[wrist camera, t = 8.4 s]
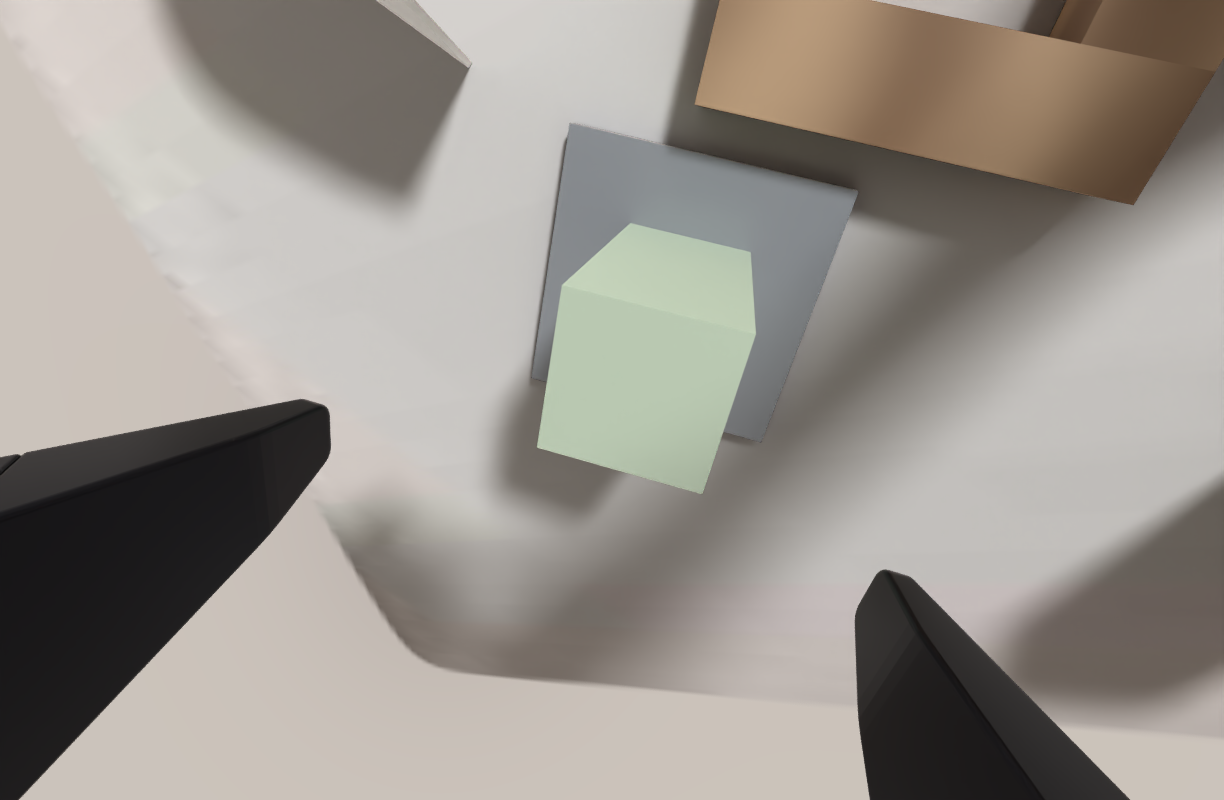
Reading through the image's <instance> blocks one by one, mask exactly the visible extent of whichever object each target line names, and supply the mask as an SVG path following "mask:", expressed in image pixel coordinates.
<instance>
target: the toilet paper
mask: <svg viewBox="0 0 1224 800" xmlns="http://www.w3.org/2000/svg"><path fill="white" fill-rule="evenodd" d="M376 1H377V2H379V3H380V4H381V5H383V6H384V7H386V8H387V9H388V10H390V11H391V12H392V13H394V14H395V15H397V16H398V17H399V18H401V19H402V20H403V21H405V22H406V23H408V24H409V25H410V26H412V27H413V28H414V29H416V30H417V31H418V32H420V33H421V34H423V35H424V36H425V37H427V38H428V39H429V40H431V41H432V42H434V43H435V44H436V45H438V46H439V47H440V48H442V49H443V50H445V51H446V52H447V53H449V54H450V55H451V56H453V57H454V58H455V59H457V60H458V61H460V62H461V63H462V64H464V65H465V66H466V67H468V68H469V67H470V65H471V64H472V62H471V61H470V60H469V59H468V57H467V56H466V55H465V54H464V53H463V52H462V51H461V50H460V49H459V48H458V47H457V46H456V44H455V43H454V42H453V41H452V40H451V39H450V38H449V37H448V36H447V35H446V34H445V32H444V31H443V30H442V29H441V28H440V27H439V26H438V25H437V24H436V23H435V22H434V20H433V19H432V18H431V17H430V16H429V15H428V14H427V13H426V12H425V11H424V10H423V9H422V7H421V6H420V5H419V4H418V3H417V2H416V1H415V0H376Z"/></svg>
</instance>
